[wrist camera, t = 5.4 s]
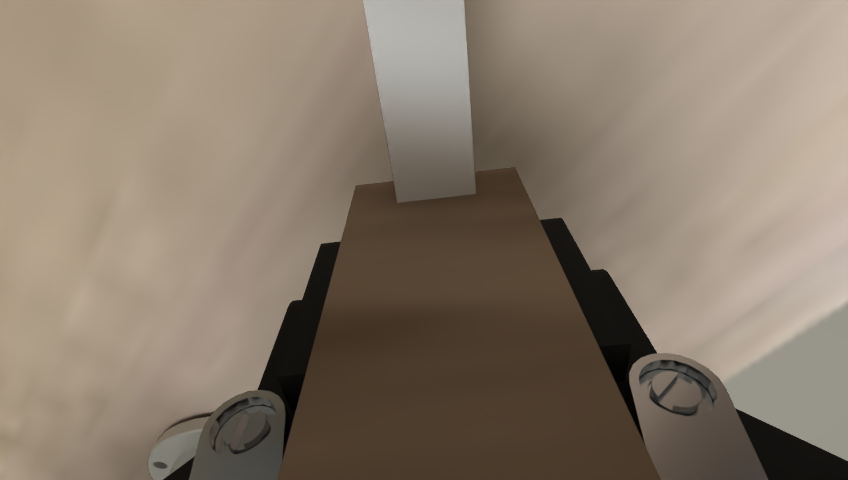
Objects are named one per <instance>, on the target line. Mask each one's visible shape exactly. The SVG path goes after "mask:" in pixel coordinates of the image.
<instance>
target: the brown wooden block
mask: <svg viewBox="0 0 848 480" xmlns="http://www.w3.org/2000/svg"><path fill="white" fill-rule="evenodd" d="M363 3H364V9H365V15H366V21H367V27H368V33H369V38H370V44H371V50H372V56H373V62H374V68H375V74H376V80H377V86H378V92H379V98H380V103H381V109H382V115H383V121H384V127H385V133H386V139H387V145H388V151H389V157H390V163H391V168H392V174H393V180H394V181H392V182H383V183H374V184H365V185H357V186H356V187H355V191H354V195H353V199H352V202H351V206H350V210H349V213H348V217H347V221H346V225H345V228H344V232H343V236H342V240H341V243H340V247H339V251H338V255H337V258H336V262H335V266H334V270H333V273H332V277H331V281H330V285H329V288H328V292H327V296H326V300H325V303H324V307H323V311H322V315H321V318H320V322H319V326H318V329H317V333H316V337H315V341H314V344H313V348H312V352H311V356H310V359H309V363H308V367H307V371H306V374H305V378H304V382H303V386H302V389H301V393H300V397H299V401H298V404H297V408H296V412H295V416H294V419H293V423H292V427H291V430H290V434H289V438H288V442H287V445H286V449H285V453H284V457H283V460H282V464H281V468H280V472H279V475H278V479H277V480H661V478H660V476H659V474H658V472H657V470H656V468H655V466H654V463H653V461H652V459H651V457H650V455H649V453H648V451H647V449H646V446H645V444H644V442H643V440H642V438H641V436H640V434H639V431H638V429H637V427H636V425H635V423H634V421H633V419H632V416H631V414H630V412H629V410H628V408H627V406H626V404H625V402H624V399H623V397H622V395H621V393H620V391H619V389H618V387H617V384H616V382H615V380H614V378H613V376H612V374H611V372H610V369H609V367H608V365H607V363H606V361H605V359H604V357H603V355H602V352H601V350H600V348H599V346H598V344H597V342H596V340H595V337H594V335H593V333H592V331H591V329H590V327H589V325H588V323H587V320H586V318H585V316H584V314H583V312H582V310H581V308H580V305H579V303H578V301H577V299H576V297H575V295H574V293H573V290H572V288H571V286H570V284H569V282H568V280H567V278H566V276H565V273H564V271H563V269H562V267H561V265H560V263H559V261H558V258H557V256H556V254H555V252H554V250H553V248H552V246H551V243H550V241H549V239H548V237H547V235H546V233H545V231H544V229H543V226H542V224H541V222H540V220H539V218H538V216H537V214H536V211H535V209H534V207H533V205H532V203H531V201H530V199H529V197H528V194H527V192H526V190H525V188H524V186H523V184H522V182H521V179H520V177H519V175H518V173H517V171H516V169H515V167H514V168H505V169H496V170H488V171H479V172H475V170H474V154H473V138H472V122H471V106H470V90H469V73H468V57H467V41H466V25H465V9H464V0H363Z"/></svg>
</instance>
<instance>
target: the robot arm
mask: <svg viewBox="0 0 848 480" xmlns="http://www.w3.org/2000/svg"><path fill="white" fill-rule="evenodd" d="M540 222H541V224H542V226H543V229H544V231H545V233H546V235H547V237H548V239H549V241H550V243H551V246H552V248H553V250H554V252H555V254H556V256H557V258H558V261H559V263H560V265H561V267H562V269H563V271H564V273H565V276H566V278H567V280H568V282H569V284H570V286H571V288H572V290H573V293H574V295H575V297H576V299H577V301H578V303H579V305H580V308H581V310H582V312H583V314H584V316H585V318H586V320H587V323H588V325H589V327H590V329H591V331H592V333H593V335H594V337H595V340H596V342H597V344H598V346H599V348H600V350H601V352H602V355H603V357H604V359H605V361H606V363H607V365H608V367H609V369H610V372H611V374H612V376H613V378H614V380H615V382H616V384H617V387H618V389H619V391H620V393H621V395H622V397H623V399H624V402H625V404H626V406H627V408H628V410H629V412H630V414H631V416H632V419H633V421H634V423H635V425H636V427H637V429H638V431H639V434H640V436H641V438H642V440H643V442H644V444H645V446H646V449H647V451H648V453H649V455H650V457H651V459H652V461H653V463H654V466H655V468H656V470H657V472H658V474H659V476H660V478H661V480H848V461H846V460H844V459H842V458H840V457H838V456H835V455H833V454H831V453H829V452H827V451H825V450H823V449H821V448H818V447H816V446H814V445H812V444H810V443H808V442H806V441H804V440H801V439H799V438H797V437H795V436H793V435H791V434H788V433H786V432H784V431H782V430H780V429H778V428H776V427H774V426H772V425H769V424H767V423H765V422H763V421H761V420H759V419H757V418H755V417H752V416H750V415H748V414H746V413H744V412H742V411H739V410H738V409H735V407H734V405H733V403H732V400H731V398H730V396H729V394H728V392H727V390H726V388H725V387H724V385H723V384H722V382H721V381H720V379H719V378H718V377H717V376H716V375H715V374H714V373H713V372H711V371H710V370H709V369H708V368H707V367H705V366H703V365H701V364H700V363H698V362H696V361H694V360H692V359H689V358H686V357H683V356H680V355H675V354H668V353H658V354H657V352H656V350H655V349H654V347H653V346H652V344H651V342H650V341H649V339H648V337H647V336H646V334H645V332H644V331H643V329H642V327H641V326H640V324H639V322H638V321H637V319H636V318H635V316H634V314H633V313H632V311H631V309H630V308H629V306H628V304H627V303H626V301H625V299H624V298H623V296H622V294H621V293H620V291H619V290H618V288H617V286H616V285H615V283H614V281H613V280H612V278H611V276H610V275H609V274H608V272H607V271H606V270H604V269H600V270H591V269H590V268H589V266H588V264H587V262H586V260H585V259H584V257H583V255H582V253H581V251H580V250H579V248H578V246H577V244H576V242H575V241H574V239H573V237H572V235H571V233H570V232H569V230H568V228H567V226H566V224H565V223H564V221H563V219H562V218H554V219H545V220H540ZM340 243H341V242H333V243H324V244H321V246H320V248H319V251H318V254H317V257H316V260H315V263H314V266H313V269H312V272H311V275H310V278H309V281H308V284H307V287H306V290H305V293H304V296H303V299H302V300H296V301H292V302H291V303H290V305H289V307H288V309H287V312H286V314H285V317H284V320H283V322H282V325H281V328H280V331H279V333H278V336H277V339H276V341H275V344H274V347H273V350H272V352H271V355H270V358H269V360H268V363H267V366H266V369H265V371H264V374H263V377H262V380H261V382H260V385H259V388H258V390H255V391H248V392H245V393H242V394H240V395H237V396H235V397H233V398H231V399H230V400H228V401H226V402H225V403H223V404H222V405H221V406H220V407H219V408H218V409H217V410H215V411H214V412H213V414H212V415H211V416H208V417H202V418H195V419H192V420H189V421H186V422H183V423H180V424H177V425H176V426H174V427H172V428H170V429H168V430H167V431H166V432H165V433H164V434H163V435H162V436H161V437H159V439H158V441H157V443H156V444H155V446H154V448H153V450H152V452H151V453H150V456H149V459H148V468H149V473H150V475H151V477H152V479H153V480H277V479H278V475H279V472H280V468H281V464H282V460H283V457H284V453H285V449H286V445H287V442H288V438H289V434H290V430H291V427H292V423H293V419H294V416H295V412H296V408H297V404H298V401H299V397H300V393H301V389H302V386H303V382H304V378H305V374H306V371H307V367H308V363H309V359H310V356H311V352H312V348H313V344H314V341H315V337H316V333H317V329H318V326H319V322H320V318H321V315H322V311H323V307H324V303H325V300H326V296H327V292H328V288H329V285H330V281H331V277H332V273H333V270H334V266H335V262H336V258H337V255H338V251H339V247H340Z"/></svg>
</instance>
